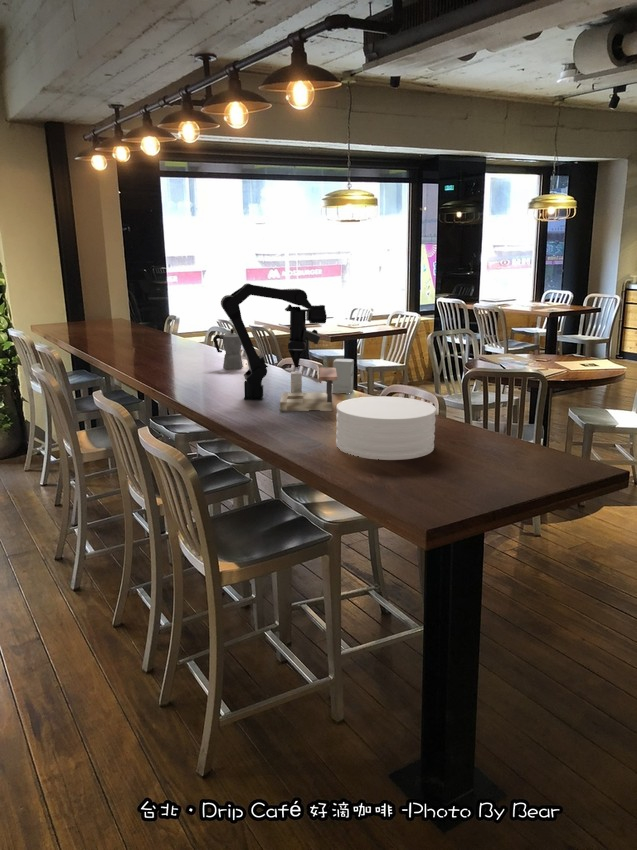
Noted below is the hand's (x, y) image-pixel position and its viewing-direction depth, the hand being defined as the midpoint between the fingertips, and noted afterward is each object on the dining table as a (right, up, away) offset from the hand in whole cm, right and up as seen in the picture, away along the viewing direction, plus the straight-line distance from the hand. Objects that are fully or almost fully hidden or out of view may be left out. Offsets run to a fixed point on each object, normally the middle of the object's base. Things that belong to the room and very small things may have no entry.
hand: (297, 365), depth 255 cm
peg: (0, -11, +3) cm, 12 cm away
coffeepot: (-33, +4, +61) cm, 69 cm away
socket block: (+4, -15, -12) cm, 20 cm away
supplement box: (+18, -10, +11) cm, 23 cm away
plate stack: (+27, -28, -59) cm, 71 cm away
